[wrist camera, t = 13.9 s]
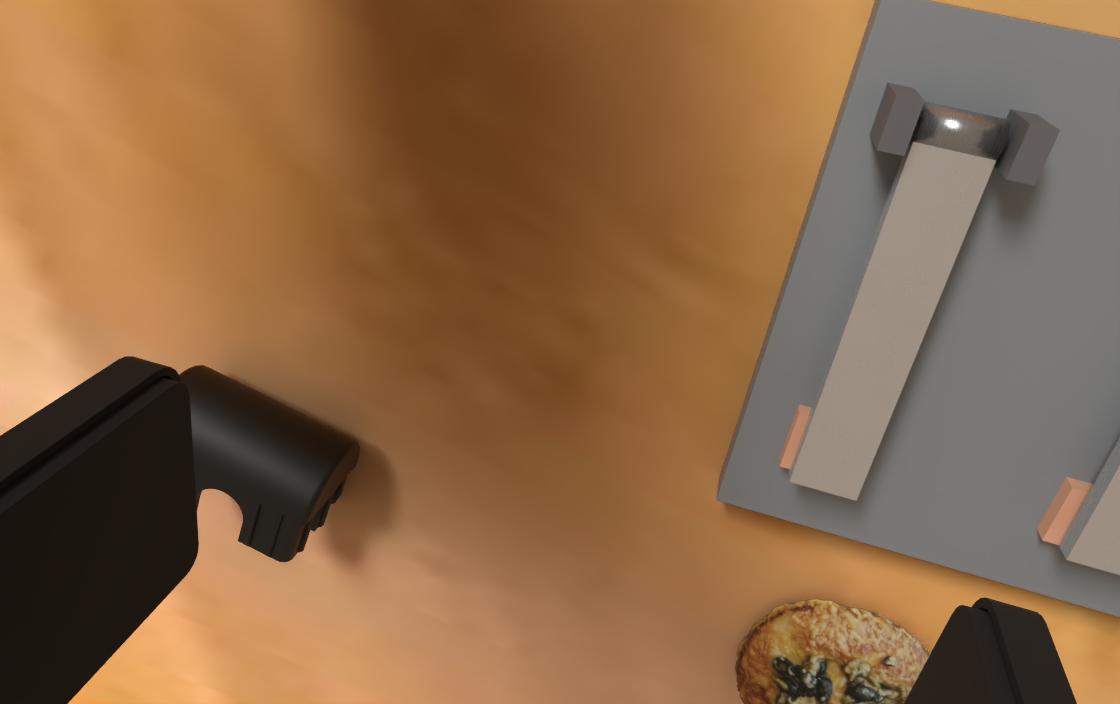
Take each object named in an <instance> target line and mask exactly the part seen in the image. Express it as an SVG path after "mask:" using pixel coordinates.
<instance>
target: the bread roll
mask: <svg viewBox="0 0 1120 704" xmlns="http://www.w3.org/2000/svg"><path fill="white" fill-rule="evenodd" d="M929 656H930V655H929V653H928V651H927V650H926V649H925V647H924V646H923V645H922V644H921V643H920V641H919V640H918V639H917V638H916V637H915V636H914V635H912V634H910V633H909V632H908V631H907V630H906V629H905V628H903V627H901V626H900V625H898V624H897V623H896V622H895V621H894V620H892V619H890V618H888V617H886V616H885V615H882V614H878V613H875V612H872V611H869V610H865V609H861V608H853V607H844V606H841V605H838V604H836V603H834V602H832V601H826V600H819V599H811V600H807V601H800V602H796V603H791V604H784V605H781V606H777V607H775V608H774V609H773V610H772V611H771V612H770V613H769V614H768V615H767V616H765V617H764V618H763V619H762V620H760V621H759V622H757V623H756V624H754V625H753V626H752V628H751V631H750V633H749V635H748V636H746V637H745V638H744V640H743V642H742V643H740V645H739V648H738V651H737V657H738V660H737V662H736V675H737V682H738V685H737V687H738V691H739V692H740V698H741V699H742V701H743V703H744V704H904V702H905V700H906V698H907V696H908V695H909V693H910V691H911V689H912V687H913V685H914V683H915V682H916V680H917V678H918V676H919V674H920V672H921V671H922V669H923V667H924V665H925V663H926V661H927V660H928V658H929Z"/></svg>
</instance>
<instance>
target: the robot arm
mask: <svg viewBox="0 0 1120 704" xmlns="http://www.w3.org/2000/svg"><path fill="white" fill-rule="evenodd" d="M198 545H199V543H198V526H197V509H196V492H195V475H194V458H193V441H192V424H191V407H190V394H189V389H188V387H187V386H186V385H185V384H183V383H181V381H180V376H179V375H178V373H177V371H176V370H174V369H173V368H171V367H168V366H164V365H161V364H157V363H154V362H150V361H146V360H143V359H139V358H136V357H124V358H121V359H119V360H117V361H116V362H114V363H112V364H111V365H109V366H108V367H106V368H105V369H103V370H102V371H100V372H99V373H97V374H95V375H94V376H92V377H91V378H89V379H88V380H86V381H85V382H83V383H81V384H80V385H78V386H77V387H75V388H74V389H72V390H71V391H69V392H68V393H66V394H64V395H63V396H61V397H60V398H58V399H57V400H55V401H54V402H52V403H51V404H49V405H47V406H46V407H44V408H43V409H41V410H40V411H38V412H37V413H35V414H33V415H32V416H30V417H29V418H27V419H26V420H24V421H23V422H21V423H20V424H18V425H16V426H15V427H13V428H12V429H10V430H9V431H7V432H6V433H4V434H2V435H1V436H0V704H68V703H69V701H70V700H71V699H72V698H73V697H74V696H75V695H76V694H77V693H78V692H79V691H80V690H81V688H82V687H83V686H84V685H85V684H86V683H87V682H88V681H89V680H90V679H91V678H92V677H93V675H94V674H95V673H96V672H97V671H98V670H99V669H100V668H101V667H102V666H103V665H104V664H105V663H106V661H107V660H108V659H109V658H110V657H111V656H112V655H113V654H114V653H115V652H116V651H117V650H118V648H119V647H120V646H121V645H122V644H123V643H124V642H125V641H126V640H127V639H128V638H129V637H130V636H131V634H132V633H133V632H134V631H135V630H136V629H137V628H138V627H139V626H140V625H141V624H142V623H143V621H144V620H145V619H146V618H147V617H148V616H149V615H150V614H151V613H152V612H153V611H154V610H155V608H156V607H157V606H158V605H159V604H160V603H161V602H162V601H163V600H164V599H165V598H166V597H167V596H168V594H169V593H170V592H171V591H172V590H173V589H174V588H175V587H176V586H177V585H178V584H179V583H180V581H181V580H182V579H183V578H184V577H185V576H186V575H187V574H188V572H189V571H190V569H191V568H192V566H193V564H194V562H195V559H196V557H197V553H198ZM904 704H1077V703H1076V700H1075V698H1074V695H1073V692H1072V690H1071V687H1070V684H1069V682H1068V679H1067V677H1066V674H1065V671H1064V669H1063V666H1062V663H1061V661H1060V658H1059V656H1058V653H1057V650H1056V648H1055V645H1054V643H1053V640H1052V637H1051V635H1050V632H1049V629H1048V627H1047V624H1046V622H1045V620H1044V619H1043V617H1042V616H1041V615H1040V614H1039V613H1037V612H1034V611H1031V610H1027V609H1024V608H1020V607H1017V606H1013V605H1010V604H1006V603H1003V602H999V601H995V600H992V599H988V598H980V599H979V600H978V601H976V602H975V603H974V605H973V606H972V608H971V607H968V606H964V605H960V606H959V607H957V608H956V609H955V611H954V612H953V614H952V615H951V617H950V619H949V621H948V623H947V625H946V626H945V628H944V630H943V632H942V634H941V636H940V637H939V639H938V641H937V643H936V645H935V647H934V648H933V650H932V652H931V654H930V656H929V658H928V660H927V661H926V663H925V665H924V667H923V669H922V671H921V672H920V674H919V676H918V678H917V680H916V682H915V683H914V685H913V687H912V689H911V691H910V693H909V695H908V696H907V698H906V700H905V702H904Z"/></svg>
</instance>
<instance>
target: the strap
mask: <svg viewBox="0 0 1120 704" xmlns="http://www.w3.org/2000/svg"><path fill="white" fill-rule="evenodd" d="M1009 131H1010V120H1009V119H1004V118H1000V117H995V116H990V115H986V114H981V113H977V112H972V111H967V110H963V109H958V108H954V107H949V106H944V105H940V104H935V103H931V102H926V101H925V102H924V105H923V107H922V110H921V113H920V115H919V118H918V121H917V123H916V126H915V129H914V132H913V134H912V137H911V140H910V142H909V145H908V148H907V150H906V153H905V156H903V157H902V160H901V162H900V165H899V168H898V171H897V173H896V176H895V179H894V182H893V184H892V187H891V190H890V193H889V195H888V198H887V201H886V204H885V207H884V209H883V212H882V215H881V218H880V220H879V223H878V226H877V229H876V231H875V234H874V237H873V240H872V243H871V245H870V248H869V251H868V254H867V256H866V259H865V262H864V265H863V267H862V270H861V273H860V276H859V279H858V281H857V284H856V287H855V290H854V292H853V295H852V298H851V301H850V303H849V306H848V309H847V312H846V314H845V317H844V320H843V323H842V326H841V328H840V331H839V334H838V337H837V339H836V342H835V345H834V348H833V350H832V353H831V356H830V359H829V362H828V364H827V367H826V370H825V373H824V375H823V378H822V381H821V384H820V386H819V389H818V392H817V395H816V398H815V400H814V403H813V406H812V409H811V411H810V414H809V417H808V420H807V422H806V425H805V428H804V431H803V433H802V436H801V439H800V442H799V445H798V447H797V450H796V453H795V456H794V458H793V461H792V464H791V467H790V469H789V482H792V483H795V484H799V485H802V486H806V487H809V488H813V489H816V490H820V491H823V492H827V493H830V494H834V495H837V496H841V497H844V498H848V499H851V500H855V501H857V498H858V496H859V494H860V491H861V489H862V486H863V484H864V481H865V479H866V476H867V474H868V472H869V469H870V467H871V464H872V462H873V459H874V457H875V455H876V452H877V450H878V447H879V445H880V442H881V440H882V438H883V435H884V433H885V430H886V428H887V425H888V423H889V420H890V418H891V416H892V413H893V411H894V408H895V406H896V403H897V401H898V399H899V396H900V394H901V391H902V389H903V386H904V384H905V381H906V379H907V377H908V374H909V372H910V369H911V367H912V364H913V362H914V360H915V357H916V355H917V352H918V350H919V347H920V345H921V343H922V340H923V338H924V335H925V333H926V330H927V328H928V325H929V323H930V321H931V318H932V316H933V313H934V311H935V308H936V306H937V304H938V301H939V299H940V296H941V294H942V291H943V289H944V287H945V284H946V282H947V279H948V277H949V274H950V272H951V269H952V267H953V265H954V262H955V260H956V257H957V255H958V252H959V250H960V248H961V245H962V243H963V240H964V238H965V235H966V233H967V230H968V228H969V226H970V223H971V221H972V218H973V216H974V213H975V211H976V209H977V206H978V204H979V201H980V199H981V196H982V194H983V192H984V189H985V187H986V184H987V182H988V179H989V177H990V174H991V172H992V170H993V167H994V165H995V162H996V160H997V159H998V158H999V156H1000V154H1001V153H1002V151H1003V149H1004V147H1005V144H1006V142H1007V139H1008V135H1009Z"/></svg>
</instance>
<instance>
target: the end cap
mask: <svg viewBox="0 0 1120 704" xmlns="http://www.w3.org/2000/svg"><path fill="white" fill-rule="evenodd" d="M179 376H180V381H181V383H183V384H185V385H186V386H187V387H188V389H189V394H190V407H191V424H192V441H193V458H194V475H195V492H196V509H197V508H198V504H199V499H200V495H201V492H202V490H204V489H217V490H220V491H223V492H225V493H226V494H228V495H229V496H231V497H232V498H233V499H234V500H235V501H236V502H237V504H238V505H239V506H240V508H241V510H242V514H243V524H242V527H241V531H240V535H239V539H238V541H239V542H241V543H243V544H245V545H247V546H249V547H251V548H253V549H255V550H257V551H259V552H261V553H263V554H265V555H267V556H269V557H271V558H273V559H275V560H277V561H280V562H288V561H290V560H292V559H293V558H294V556H295V555H296V554H297V553H298V552H301V551H303V550H304V547H305V544H306V541H307V538H308V535H309V532H310V530H312V531H314V532H315V530H316V529H317V528H318V527H321V526H323V525H324V522H325V519H326V516H327V513H328V510H329V507H330V504H333V503H335V502H336V501H337V499H338V498H339V497H340V496H341V493H342V490H343V487H344V484H345V481H346V478H347V476H348V474H349V473H350V472H351V471H352V470H353V468H354V467H355V466H356V464H357V461H358V457H359V448H360V447H359V444H358V443H357V442H356V441H355V440H353V439H351V438H349V437H347V436H345V435H343V434H341V433H339V432H337V431H335V430H333V429H331V428H329V427H327V426H325V425H323V424H321V423H319V422H317V421H315V420H313V419H311V418H309V417H307V416H305V415H303V414H301V413H299V412H297V411H295V410H293V409H291V408H289V407H287V406H285V405H283V404H281V403H279V402H277V401H275V400H273V399H271V398H269V397H267V396H265V395H263V394H261V393H259V392H257V391H255V390H253V389H251V388H249V387H247V386H245V385H243V384H241V383H239V382H237V381H235V380H233V379H231V378H229V377H227V376H225V375H223V374H221V373H219V372H217V371H215V370H213V369H211V368H209V367H206V366H204V365H199V366H194V367H191V368H189V369H187V370H185V371H184V372H182V373H181V374H180V375H179Z"/></svg>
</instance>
